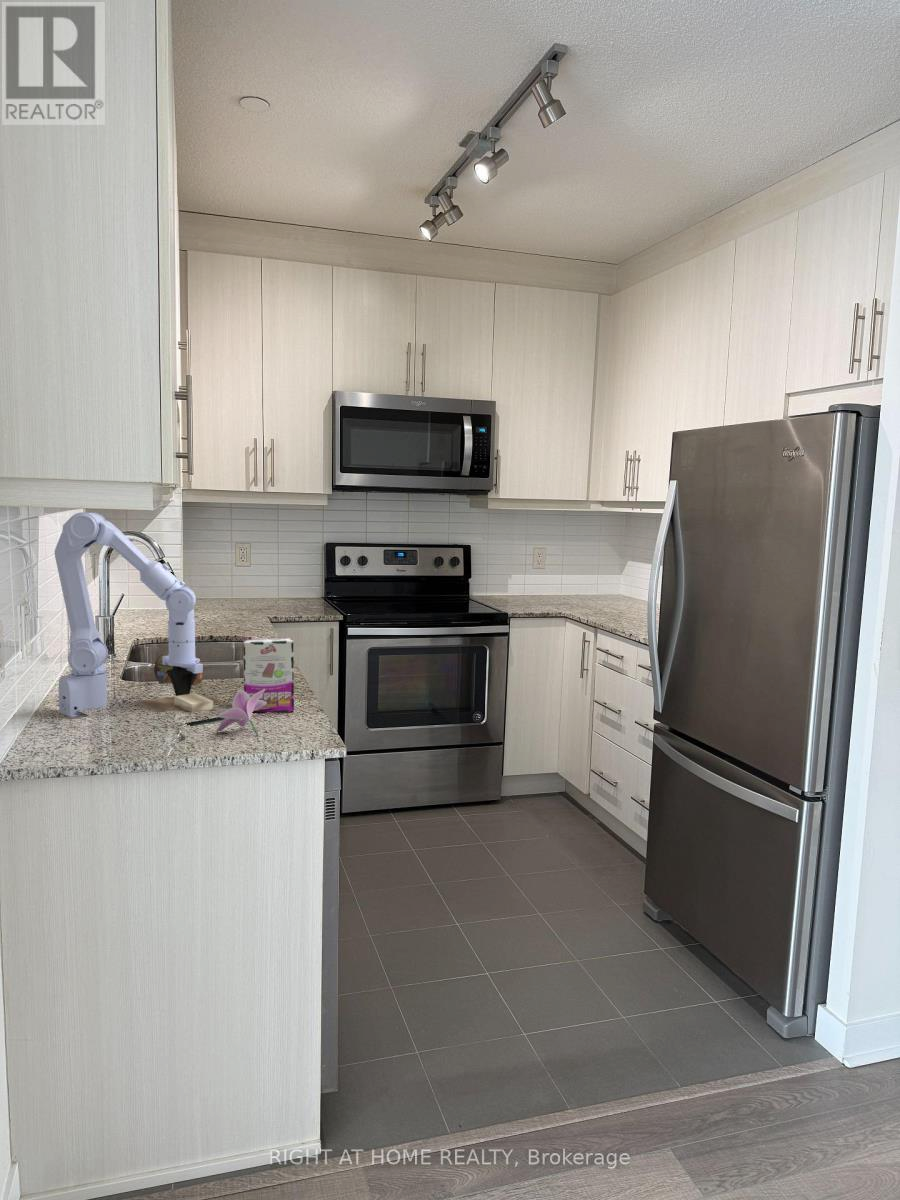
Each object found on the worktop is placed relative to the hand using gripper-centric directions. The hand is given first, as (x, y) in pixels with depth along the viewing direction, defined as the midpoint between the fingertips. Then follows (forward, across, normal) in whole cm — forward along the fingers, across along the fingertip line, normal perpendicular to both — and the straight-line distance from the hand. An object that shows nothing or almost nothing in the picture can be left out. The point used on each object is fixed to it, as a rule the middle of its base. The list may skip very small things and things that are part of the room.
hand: (182, 700), depth 189 cm
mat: (+2, -10, 0) cm, 10 cm away
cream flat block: (+1, -5, 0) cm, 5 cm away
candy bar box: (+2, -13, -14) cm, 19 cm away
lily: (+2, -26, +1) cm, 26 cm away
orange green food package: (+2, +24, -12) cm, 27 cm away
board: (+2, +2, 0) cm, 3 cm away
